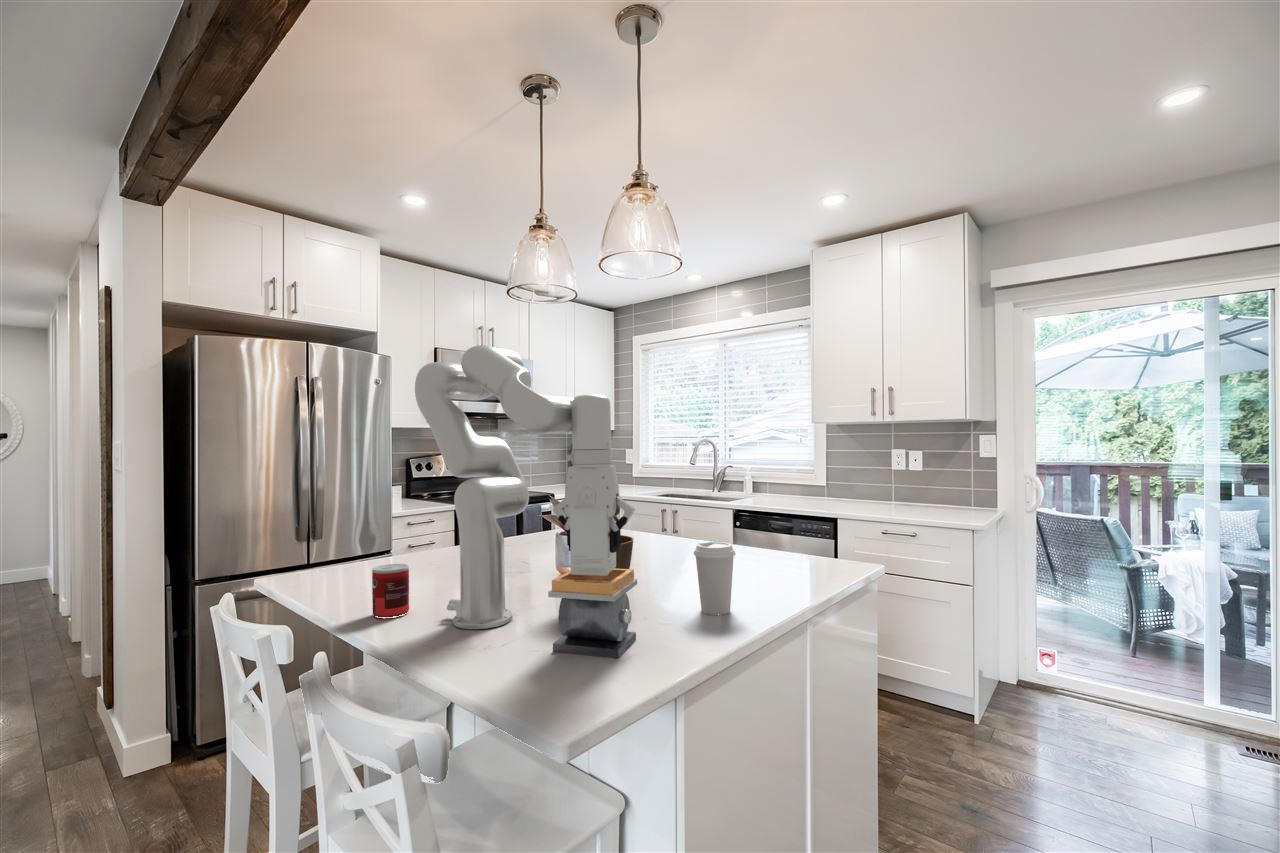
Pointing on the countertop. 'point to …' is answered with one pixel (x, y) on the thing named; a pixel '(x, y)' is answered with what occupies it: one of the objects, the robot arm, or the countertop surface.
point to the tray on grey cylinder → (594, 613)
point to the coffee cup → (715, 576)
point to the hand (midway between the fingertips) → (593, 550)
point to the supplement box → (590, 542)
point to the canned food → (390, 590)
